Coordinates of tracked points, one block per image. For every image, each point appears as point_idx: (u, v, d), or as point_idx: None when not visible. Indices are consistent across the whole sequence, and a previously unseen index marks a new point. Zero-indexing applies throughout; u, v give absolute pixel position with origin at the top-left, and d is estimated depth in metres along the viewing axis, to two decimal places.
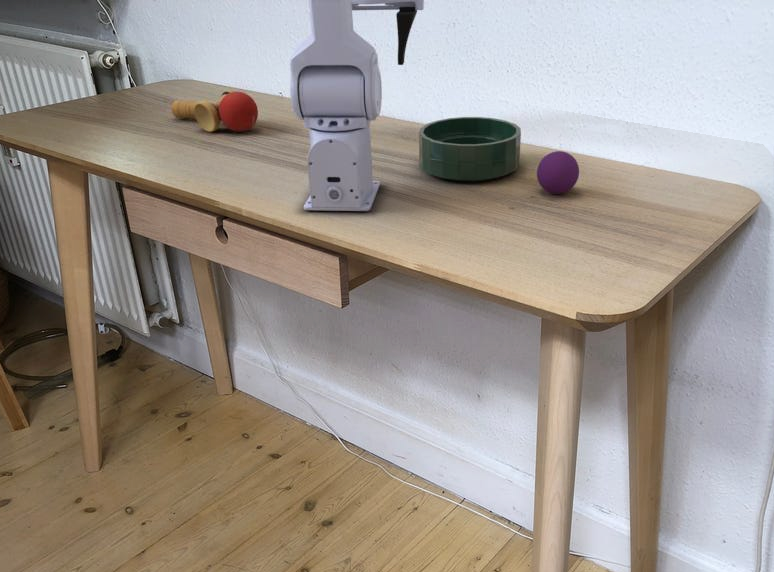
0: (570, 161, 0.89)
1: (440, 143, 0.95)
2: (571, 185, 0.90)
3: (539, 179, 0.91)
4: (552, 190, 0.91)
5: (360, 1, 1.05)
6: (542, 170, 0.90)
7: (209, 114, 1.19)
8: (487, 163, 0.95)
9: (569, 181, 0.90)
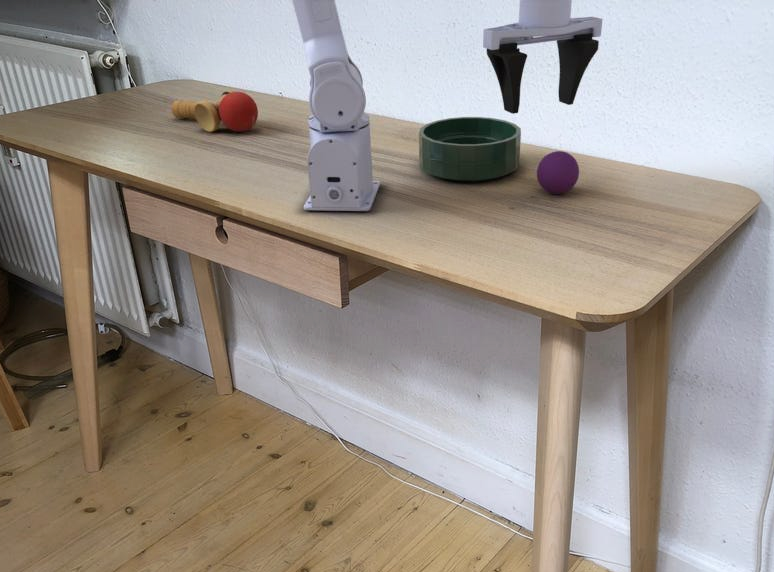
0: (570, 161, 0.89)
1: (440, 143, 0.95)
2: (571, 185, 0.90)
3: (539, 179, 0.91)
4: (552, 190, 0.91)
5: (548, 32, 0.83)
6: (542, 170, 0.90)
7: (209, 114, 1.19)
8: (487, 163, 0.95)
9: (569, 181, 0.90)
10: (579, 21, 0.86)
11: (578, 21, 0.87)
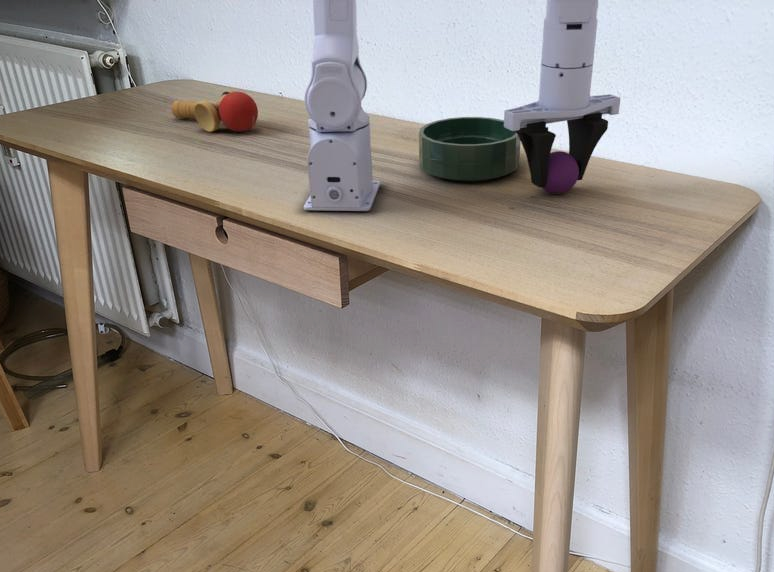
0: (569, 161, 0.89)
1: (440, 143, 0.95)
2: (571, 185, 0.90)
3: None
4: (551, 190, 0.91)
5: (568, 114, 0.85)
6: None
7: (209, 114, 1.19)
8: (487, 163, 0.95)
9: (569, 181, 0.90)
10: (598, 100, 0.88)
11: (597, 100, 0.88)
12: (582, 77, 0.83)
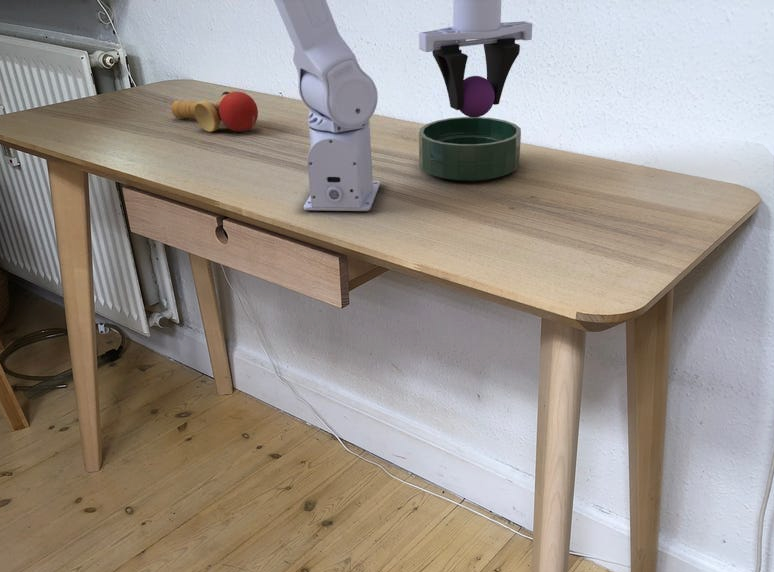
0: (484, 84, 0.94)
1: (440, 143, 0.95)
2: (486, 108, 0.95)
3: None
4: (468, 113, 0.95)
5: (478, 36, 0.89)
6: None
7: (209, 114, 1.19)
8: (487, 163, 0.95)
9: (484, 103, 0.94)
10: (510, 25, 0.93)
11: (509, 25, 0.93)
12: None
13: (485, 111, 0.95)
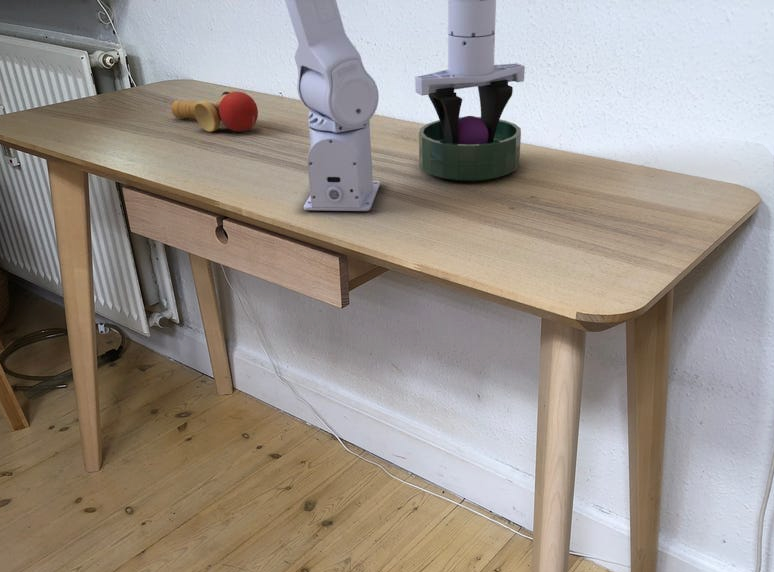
0: (478, 124, 0.97)
1: (440, 143, 0.95)
2: None
3: None
4: None
5: (472, 80, 0.93)
6: None
7: (209, 114, 1.19)
8: (487, 163, 0.95)
9: (478, 142, 0.97)
10: (503, 68, 0.96)
11: (502, 68, 0.96)
12: (484, 45, 0.91)
13: None
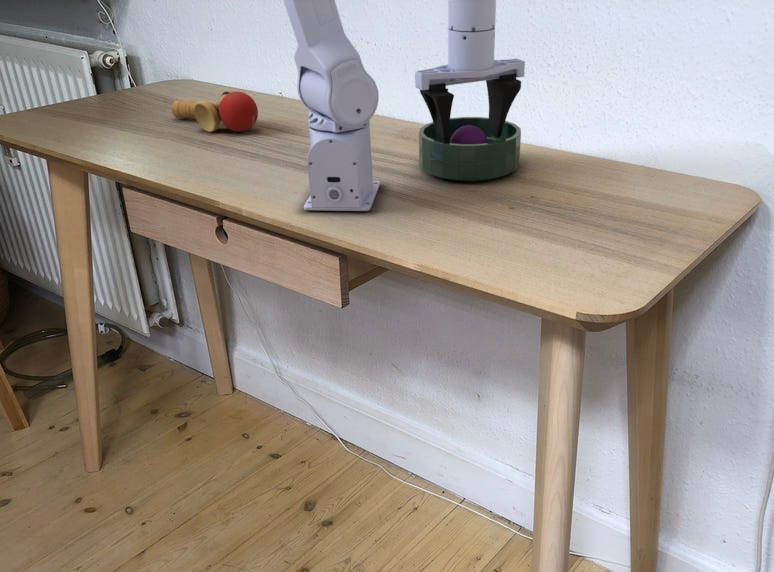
0: (477, 134, 0.98)
1: (440, 143, 0.95)
2: None
3: None
4: None
5: (472, 75, 0.92)
6: (453, 143, 0.99)
7: (209, 114, 1.19)
8: (487, 163, 0.95)
9: None
10: (503, 63, 0.96)
11: (502, 63, 0.96)
12: (484, 40, 0.91)
13: None
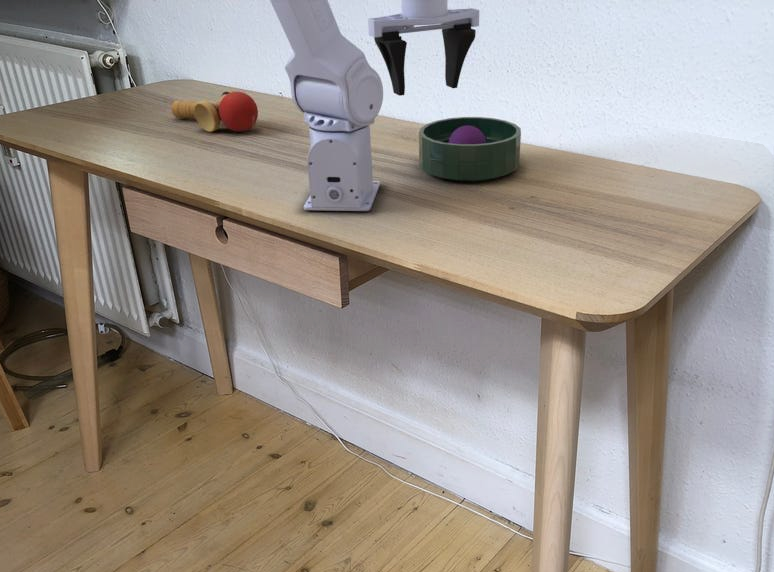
0: (475, 134, 0.98)
1: (440, 143, 0.95)
2: None
3: None
4: None
5: (425, 21, 0.92)
6: None
7: (209, 114, 1.19)
8: (487, 163, 0.95)
9: None
10: (458, 12, 0.96)
11: (457, 12, 0.96)
12: None
13: None
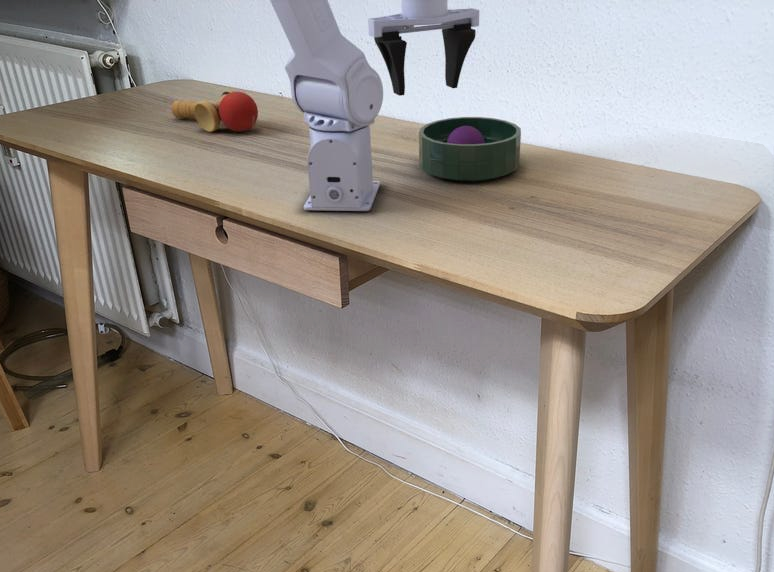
0: (472, 135, 0.97)
1: (440, 143, 0.95)
2: None
3: None
4: None
5: (425, 21, 0.92)
6: None
7: (209, 114, 1.19)
8: (487, 163, 0.95)
9: None
10: (458, 12, 0.96)
11: (457, 12, 0.96)
12: None
13: None
